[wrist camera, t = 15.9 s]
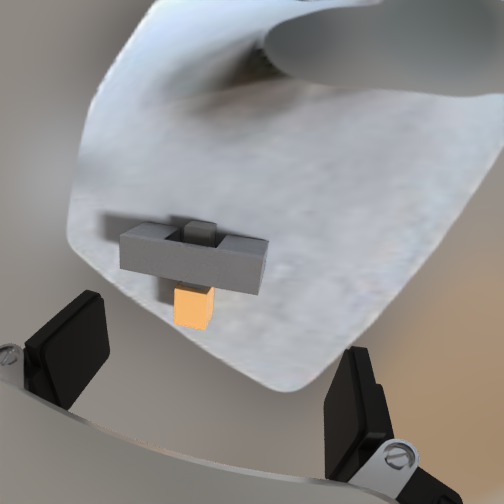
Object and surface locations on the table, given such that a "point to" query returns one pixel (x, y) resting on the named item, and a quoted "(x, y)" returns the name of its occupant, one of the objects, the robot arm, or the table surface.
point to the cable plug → (193, 295)
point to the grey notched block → (194, 258)
